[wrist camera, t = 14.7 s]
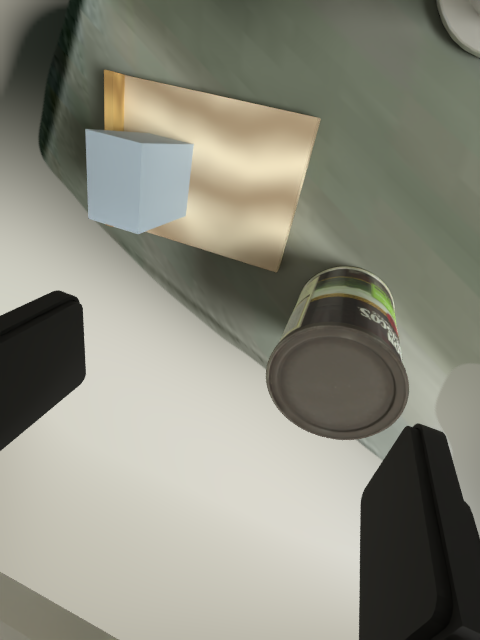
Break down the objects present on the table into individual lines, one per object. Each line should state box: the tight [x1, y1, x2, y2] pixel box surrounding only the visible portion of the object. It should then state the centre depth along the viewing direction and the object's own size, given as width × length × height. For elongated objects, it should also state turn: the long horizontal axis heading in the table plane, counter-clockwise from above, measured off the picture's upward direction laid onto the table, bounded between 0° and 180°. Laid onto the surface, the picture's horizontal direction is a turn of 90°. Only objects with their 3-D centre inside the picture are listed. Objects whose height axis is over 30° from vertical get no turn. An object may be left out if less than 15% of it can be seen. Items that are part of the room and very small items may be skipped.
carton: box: [85, 129, 194, 234], centre depth 31 cm, size 5×7×9 cm
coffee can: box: [266, 266, 409, 440], centre depth 31 cm, size 10×10×14 cm
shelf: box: [104, 70, 321, 272], centre depth 34 cm, size 14×20×3 cm
